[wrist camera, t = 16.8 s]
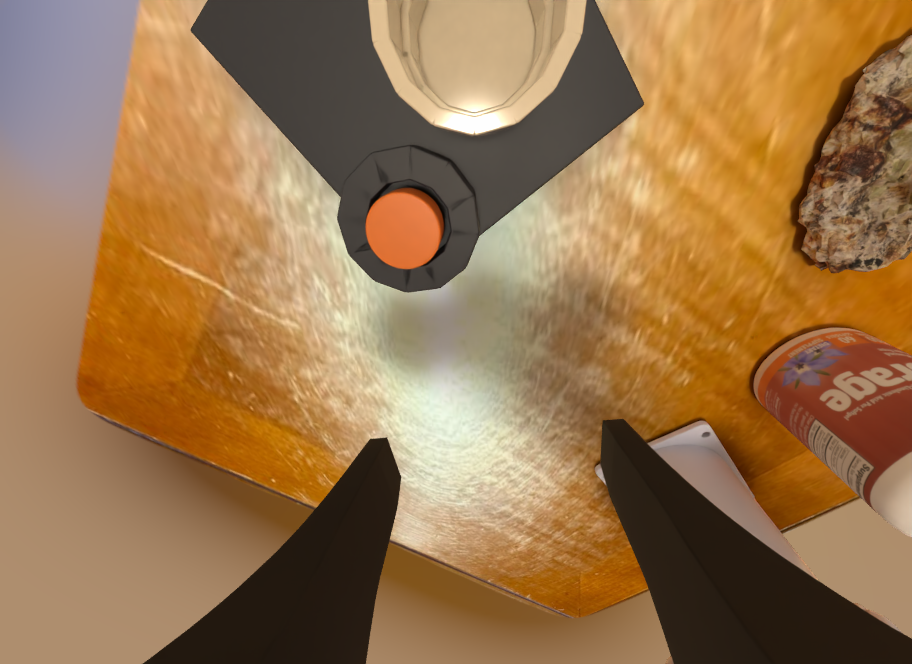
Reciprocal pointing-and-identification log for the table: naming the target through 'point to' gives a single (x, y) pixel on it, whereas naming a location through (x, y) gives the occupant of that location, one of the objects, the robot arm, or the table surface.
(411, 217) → the button
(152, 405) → the table surface
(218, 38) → the scale
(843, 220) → the mineral rock
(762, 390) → the pill bottle
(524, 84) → the beige hollow cylinder
